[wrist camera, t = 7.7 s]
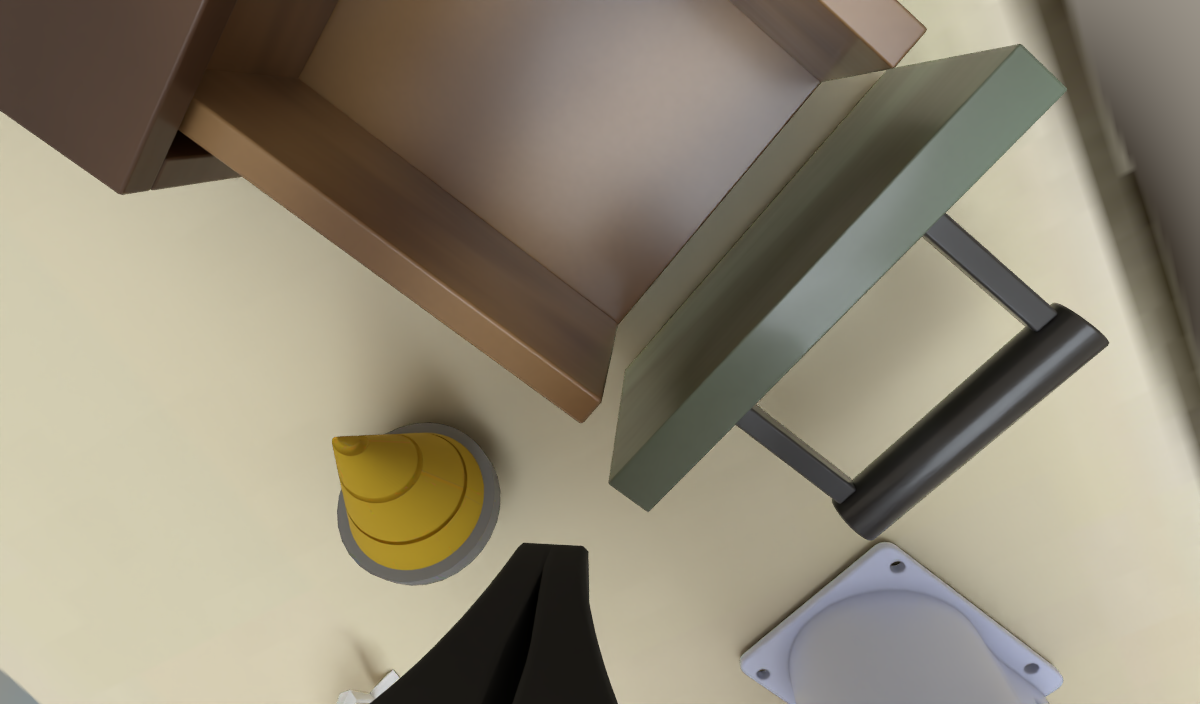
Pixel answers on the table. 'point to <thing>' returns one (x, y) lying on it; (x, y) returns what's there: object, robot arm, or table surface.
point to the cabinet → (113, 84)
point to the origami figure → (351, 697)
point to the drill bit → (415, 501)
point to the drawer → (644, 199)
